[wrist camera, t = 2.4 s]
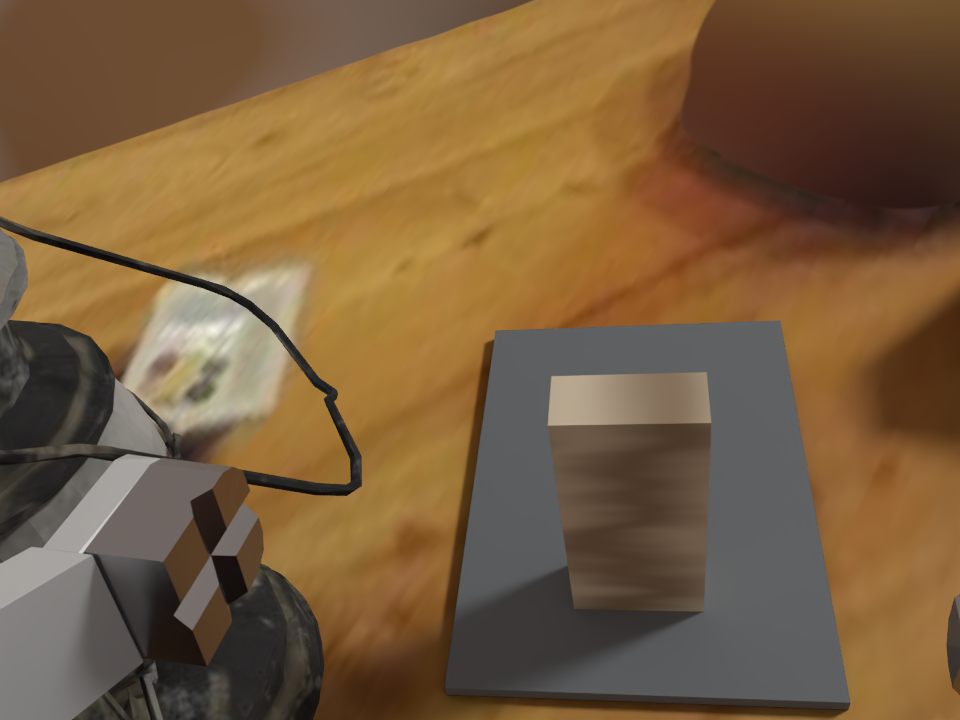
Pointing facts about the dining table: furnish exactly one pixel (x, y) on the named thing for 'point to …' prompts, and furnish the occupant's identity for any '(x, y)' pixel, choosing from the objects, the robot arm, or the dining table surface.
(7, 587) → the robot arm
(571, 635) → the mat
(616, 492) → the wooden block
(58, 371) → the lantern
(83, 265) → the dining table surface
